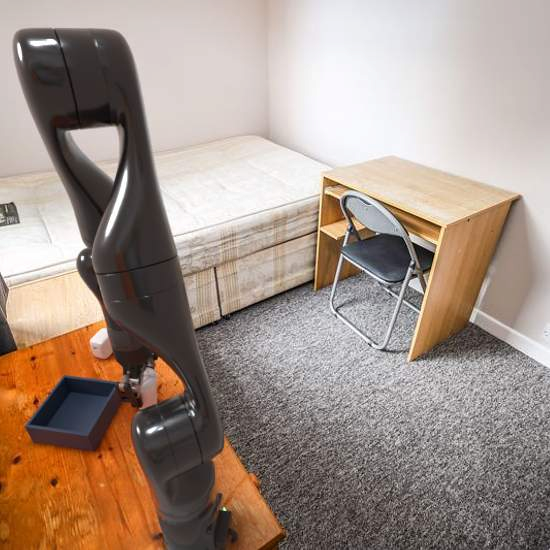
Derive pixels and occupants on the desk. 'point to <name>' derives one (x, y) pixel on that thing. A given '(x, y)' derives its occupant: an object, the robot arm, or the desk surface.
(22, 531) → the desk surface
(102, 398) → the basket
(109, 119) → the robot arm
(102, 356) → the power adapter
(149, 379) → the smoothie
